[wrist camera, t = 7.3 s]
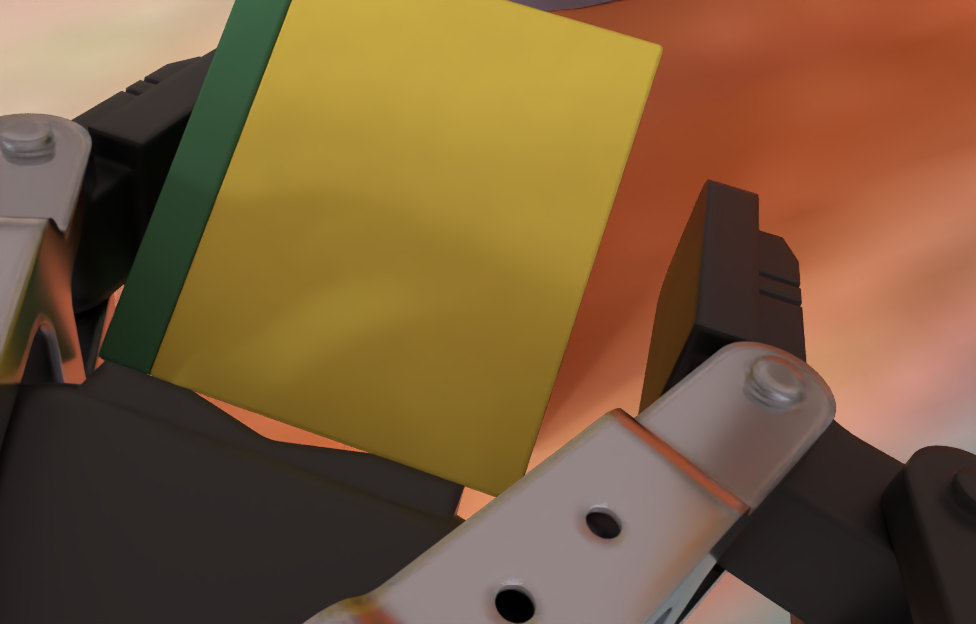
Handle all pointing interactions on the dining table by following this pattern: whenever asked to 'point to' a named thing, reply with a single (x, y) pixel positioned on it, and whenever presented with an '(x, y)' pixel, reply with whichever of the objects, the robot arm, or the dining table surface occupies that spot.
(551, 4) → the plate
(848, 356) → the dining table surface
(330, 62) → the sponge
